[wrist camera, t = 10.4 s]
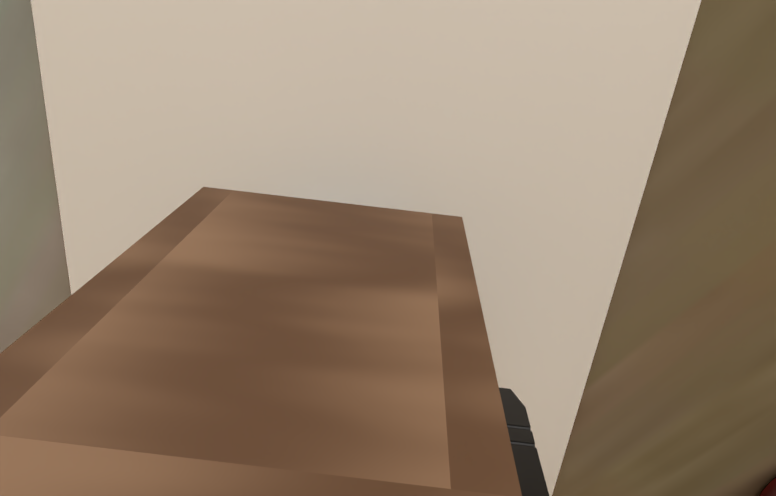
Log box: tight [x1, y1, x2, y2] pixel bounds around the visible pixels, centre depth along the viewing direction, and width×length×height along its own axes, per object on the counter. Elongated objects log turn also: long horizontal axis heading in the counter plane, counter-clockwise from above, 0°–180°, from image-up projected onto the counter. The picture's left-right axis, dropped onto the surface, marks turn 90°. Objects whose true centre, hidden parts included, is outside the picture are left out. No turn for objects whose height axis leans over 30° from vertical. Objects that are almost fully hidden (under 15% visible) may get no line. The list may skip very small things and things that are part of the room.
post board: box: [31, 0, 701, 496], centre depth 12 cm, size 16×18×11 cm
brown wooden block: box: [0, 187, 522, 496], centre depth 10 cm, size 6×6×9 cm
